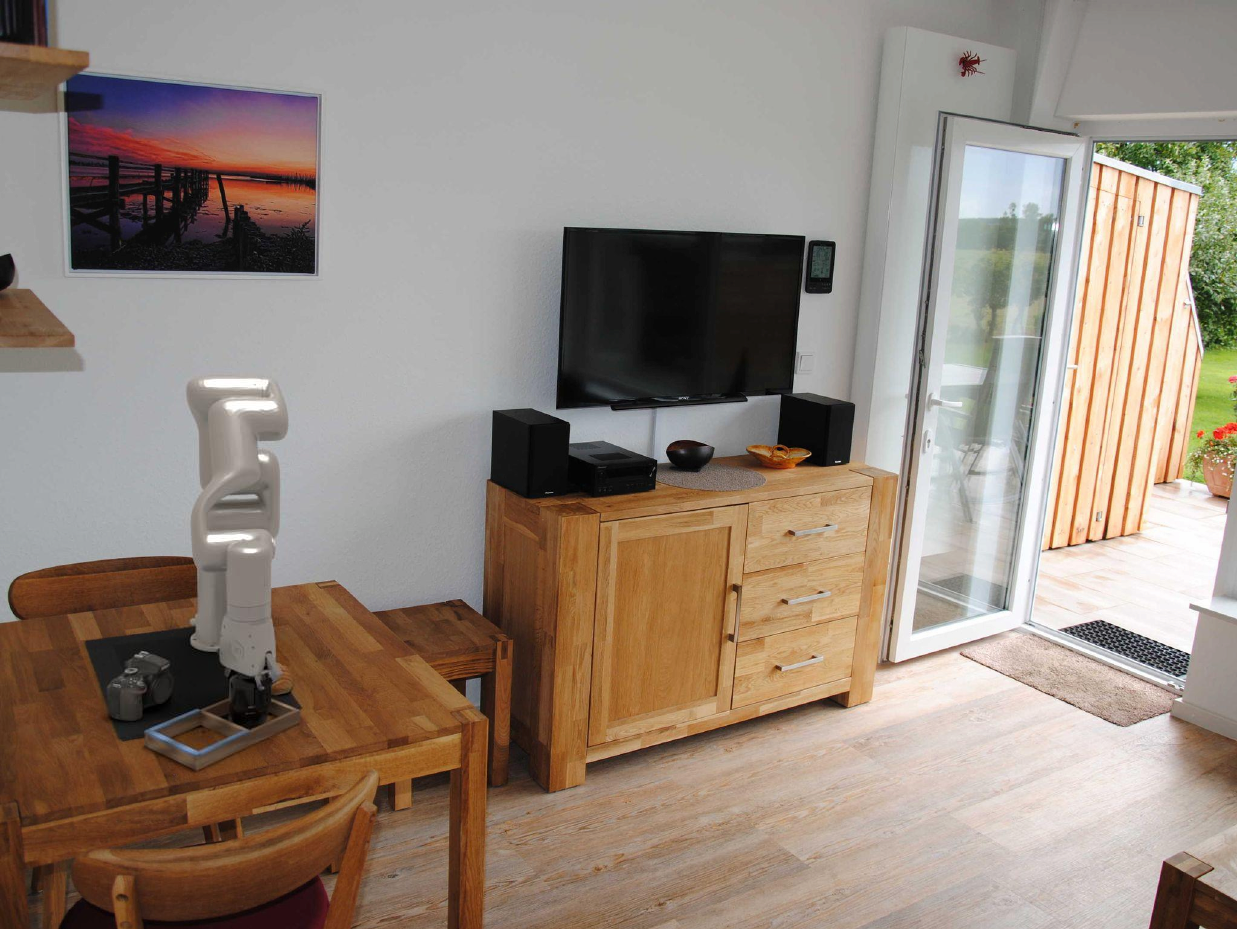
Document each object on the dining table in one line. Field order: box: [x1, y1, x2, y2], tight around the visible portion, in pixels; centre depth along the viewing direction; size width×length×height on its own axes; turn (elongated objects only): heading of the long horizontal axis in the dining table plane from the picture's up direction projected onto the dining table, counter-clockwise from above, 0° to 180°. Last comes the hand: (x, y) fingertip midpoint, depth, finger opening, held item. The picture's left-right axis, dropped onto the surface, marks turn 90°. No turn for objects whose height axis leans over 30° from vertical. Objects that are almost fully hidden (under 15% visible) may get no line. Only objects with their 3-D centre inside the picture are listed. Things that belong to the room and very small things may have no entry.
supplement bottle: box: [228, 669, 269, 730], centre depth 190 cm, size 7×7×12 cm
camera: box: [105, 651, 175, 722], centre depth 194 cm, size 13×10×10 cm
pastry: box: [271, 661, 294, 696], centre depth 206 cm, size 9×7×4 cm
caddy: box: [143, 697, 301, 771], centre depth 186 cm, size 14×22×3 cm, turn 150°
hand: (249, 700), depth 190 cm, fingers closed on supplement bottle, 6 cm apart
